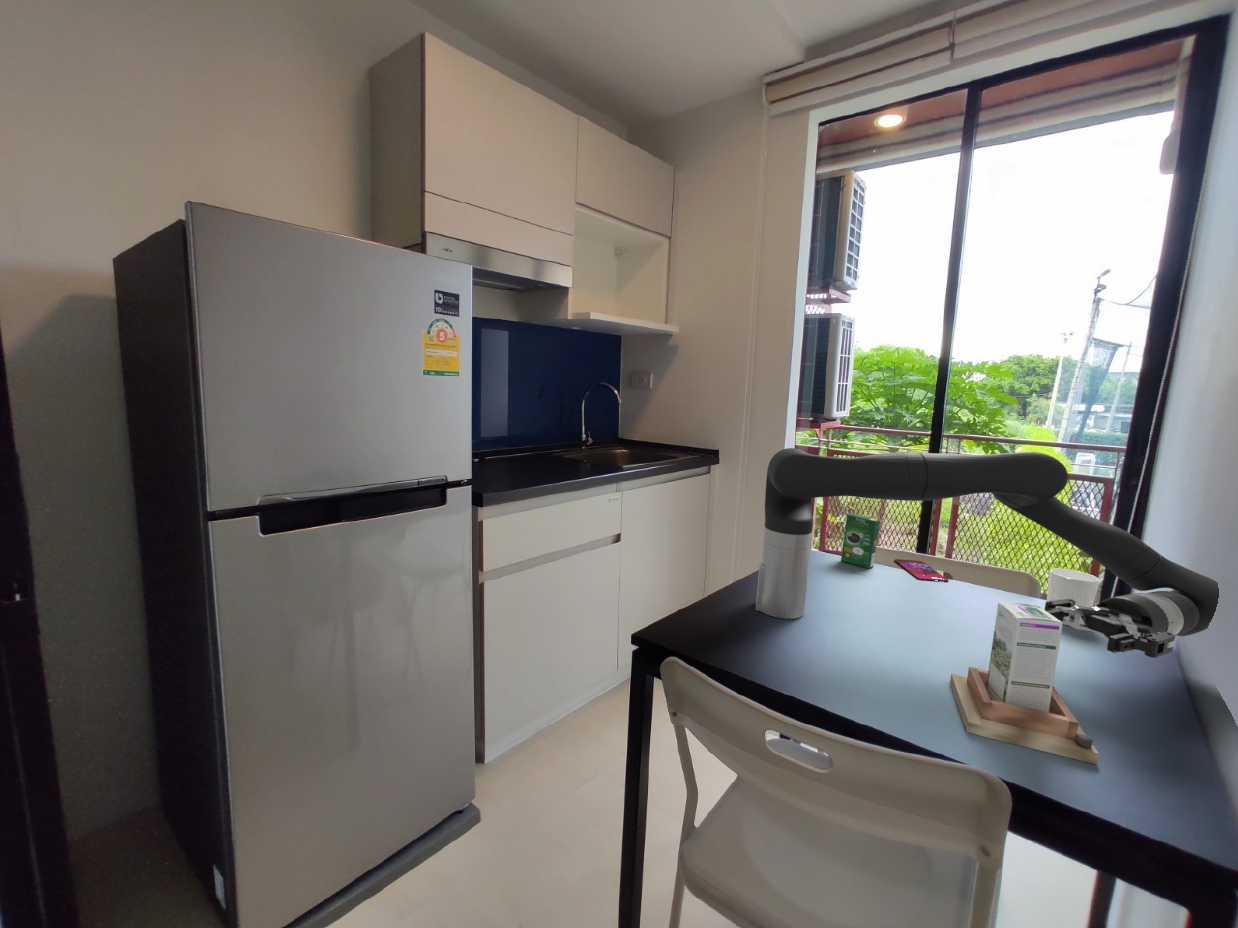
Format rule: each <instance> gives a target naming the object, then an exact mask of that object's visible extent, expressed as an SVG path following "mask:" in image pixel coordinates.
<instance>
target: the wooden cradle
mask: <svg viewBox="0 0 1238 928" xmlns="http://www.w3.org/2000/svg"><path fill="white" fill-rule="evenodd" d="M988 671H989V670H986V669H982V668H977V667H972V666H968V672H967V676H965V675H961V674H955V673H951V675H950V680H949V683H950V686H951V689H952V692H953V695H954V699H955V701H956V704H957V706H958V710H959V713H960V715H961V718H962V721H963V723H964V727H965V730H966V732H967V733H969V734H972V735H975V736H981V737H985V738H988V739H993V740H997V741H1001V742H1005V743H1010V744H1013V745H1018V746H1021V747H1026V748H1029V749H1033V750H1037V751H1041V752H1045V753H1048V754H1053V755H1058V756H1061V757H1064V758H1070V759H1074V760H1077V761H1081V762H1086V763H1090V764H1094V765H1098V759H1099V754H1100V753H1099V752H1098V750H1097V749H1096V747H1095V745H1093V739H1092V738H1091V737H1090V736H1088V735H1087V734H1086V733H1085V731H1084V729H1083V728H1082V727H1081V725H1080V723H1079V721H1078V720H1077V719H1076V717H1075V715H1074V714H1073V713H1072V711H1071V710H1070V708H1069V707H1068V706H1067V704H1066V702H1065V701H1064V700H1063V698H1062V696H1061V695H1060V694H1059V693H1058V691H1057V689H1056V688H1055V687H1054V686H1053V688H1052V694H1051V701H1050V707H1049V713H1047V712H1043V711H1038V710H1034V709H1029V708H1025V707H1021V706H1016V705H1012V704H1007V703H1003V702H998V701H994V700H991V699H990V696H989V694H988V692H987V690H986V684H987V678H988Z"/></svg>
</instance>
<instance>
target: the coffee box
mask: <svg viewBox="0 0 1238 928" xmlns="http://www.w3.org/2000/svg"><path fill="white" fill-rule="evenodd" d="M880 524H881V520H880V519H878V518H873V517H869V516H865V515H864V516H863V515H859V514H855V513H847V514H846V520H845V527H844V534H843V542H842V550H841V557H840V561H841V562H844V563H847V564H852V565H855V566H859V567H862V568H866V569H869V570H870V569H872V568H873V567H874V564H875V557H876V550H877V545H878V538H879V537H878V536H879V531H880V526H881V525H880Z"/></svg>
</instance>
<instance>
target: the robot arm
mask: <svg viewBox="0 0 1238 928" xmlns="http://www.w3.org/2000/svg"><path fill="white" fill-rule="evenodd" d="M1068 480H1069V473H1068V470H1067V468H1066V467H1065V465H1064V464H1063V463H1062V462H1061V460H1059V459H1057V458H1056V457H1054V456H1051V455H1049V454H1046V453H1043V452H1040V451H1018V452H1005V453H993V454H990V453H989V454H964V453H963V454H962V453H936V452H935V453H933V452H930V453H929V452H911V451H910V452H905V451H904V452H902V451H899V452H895V451H894V452H882V453H876V454H875V453H874V454H870V455H869V454H868V455H864V456H863V455H862V456H857V457H836V456H826V455H825V456H824V455H816V454H811V453H808V452H805V451H804V450H802V449H799V448H795V447H793V448H792V447H787V448H784V449H781V450H778V451H777V452H775V454H774V455H773V456H772V457H771V459H770V460H769V463H768V467H767V471H766V483H765V495H764V496H765V497H764V498H765V499H764V528H763V529H764V530H763V540H762V541H763V542H762V553H761V560H760V561H761V562H760V564H759V567H758V577H757V578H758V579H757V589H756V601H755V611H758V612H762V613H763V614H765V615H768V616H771V617H774V618H779V619H785V620H787V619H788V620H789V619H790V620H793V619H799V618H801V617H803V616H804V614H805V607H806V597H807V588H808V586H807V585H808V578H809V570H810V569H809V568H810V557H811V549H812V548H811V547H812V538H813V537H812V536H813V527H814V516H813V508H812V506H813V505H812V500H813V499H815V498H817V499H818V498H827V497H828V498H830V497H831V498H832V497H855V498H857V497H858V498H863V499H873V500H874V499H875V500H887V501H888V500H890V501H909V502H911V501H912V502H924V501H925V502H927V501H929V502H930V501H939V500H944V499H946V500H947V499H951V498H957V497H961V496H968V495H972V494H974V495H975V494H987V493H988V494H992V495H993V497H994V498H995V499H996V500H997V501H998V502H999V503H1001V504H1002V505H1005V506H1006V507H1007V508H1008V509H1010V510H1012V511H1013V512H1015V513H1017V514H1019V515H1021V516H1022V517H1025V518H1026V519H1028V520H1031V521H1032V522H1034V523H1035V524H1036V525H1039V526H1041V527H1043V528H1044V529H1045V530H1047V531H1049V532H1051V533H1053V534H1054V535H1056V536H1058V537H1060V538H1061V539H1062V540H1064V541H1066V542H1068V543H1069V544H1070V545H1072V546H1075V547H1076V548H1077V549H1079V550H1080V551H1082V552H1083V553H1085V554H1086V555H1088V556H1089V557H1090V558H1091V559H1093V560H1095V561H1096V562H1097V563H1099V564H1100V565H1101V566H1102V567H1103V568H1105V569H1107V570H1108V571H1109V572H1110V573H1111V574H1112V575H1114V576H1116V577H1117V578H1118V579H1120V580H1121V581H1122V582H1124V583H1125V584H1126V585H1128V586H1129V587H1130V588H1132V589H1133V590H1136V591H1138V592H1135V593H1130V594H1124V595H1123V594H1122V595H1117V596H1111V597H1108V598H1106V599H1104V600H1102V601H1100V602H1099V603H1098V604H1097V605H1096V606H1093V607H1084V606H1076V605H1075V601H1074V600H1072V599H1063V600H1054V601H1047V600H1046V601H1045V604H1044V608H1043V609H1044V610H1045V611H1047V612H1048V613H1049V614H1051V615H1052V616H1054V617H1055V618H1057V619H1058V620H1060V621H1061V622H1062V623H1063V625H1065V624H1066V625H1065V626H1069V625H1071V626H1070V627H1071V628H1074V630H1080V631H1089V632H1094V633H1095V634H1099V635H1103V636H1104V637H1106V638H1107V639H1108V641H1107V646H1106V650H1107V651H1108V652H1110V653H1112V654H1116V653H1125V652H1132V653H1138V652H1139V651H1141V652H1144V656H1147V657H1148V658H1153V659H1154V658H1159V657H1161V656H1164V655H1166V654H1169V653H1172V652H1173V649H1174V645H1175V640H1176V636H1178V637H1186V636H1187V637H1188V636H1191V635H1194V634H1198V633H1201V632H1202V631H1205V630H1208V629H1209V628H1208V626H1209V623H1210V622H1211V620H1212V618H1213V616H1214V613H1215V611H1216V607H1217V604H1218V598H1219V588H1218V583H1217V582H1218V581H1217V580H1215V579H1212V578H1211V577H1208V576H1206V575H1203V574H1201V573H1198V572H1196V571H1193V570H1191V569H1189V568H1187V567H1185V566H1182V565H1181V564H1178V563H1176V562H1174V561H1171V560H1170V559H1168V558H1166V557H1165V556H1163V555H1162V554H1160V553H1159V552H1157V550H1154V549H1153V548H1152V547H1151V546H1149V545H1148V544H1147V543H1145V542H1144V541H1142V540H1141V539H1140V538H1138V537H1136V536H1135V535H1133V534H1132V533H1129V531H1126V530H1124V529H1122V528H1120V527H1118V526H1116V525H1113V524H1111V523H1108V522H1106V521H1103V520H1100V519H1098V518H1095V517H1093V516H1089V515H1087V514H1085V513H1083V512H1080V511H1078V510H1076V509H1075V508H1073V507H1070V506H1069V505H1067V504H1066V503H1065V502H1063V501H1061V500H1060V499H1058V498H1057V497H1056V496H1057V495H1058V494H1060V493H1061V492H1062V491H1063V490H1064V489H1065V487H1066V485H1067V483H1068V482H1069V481H1068ZM1216 581H1217V582H1216ZM1157 589H1171V590H1157ZM1153 590H1156V591H1153ZM1139 591H1140V592H1139ZM1148 591H1150V592H1148ZM1067 616H1068V617H1070V619H1064V617H1067ZM1080 616H1081V619H1082V620H1083V622H1084V624H1079V622H1080ZM1207 628H1208V629H1207Z"/></svg>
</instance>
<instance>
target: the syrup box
mask: <svg viewBox="0 0 1238 928" xmlns="http://www.w3.org/2000/svg"><path fill="white" fill-rule="evenodd" d="M997 603H998V604H997V610H996V616H995V624H994V630H993V637H992V644H991V652H990V659H989V664H988V670H987V671H988V678H987V684H986V690H987V692H988V694H989V696H990V699H991V700H994V701H998V702H1003V703H1007V704H1012V705H1016V706H1021V707H1025V708H1029V709H1034V710H1038V711H1043V712H1047V713H1049V707H1050V701H1051V694H1052V688H1053V687H1054V682H1055V674H1056V668H1057V663H1058V662H1057V661H1058V656H1059V650H1060V643H1061V638H1062V632H1063V631H1062V630H1063V625H1064V624H1063V623H1062V622H1061V621H1060V620H1058V619H1057V618H1055V617H1054V616H1052V615H1051V614H1049V613H1048V612H1047V611H1045V610H1044V609H1045V608H1042V607H1041V606H1039V605H1032V604H1027V603H1020V602H1019V603H1018V602H997Z"/></svg>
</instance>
